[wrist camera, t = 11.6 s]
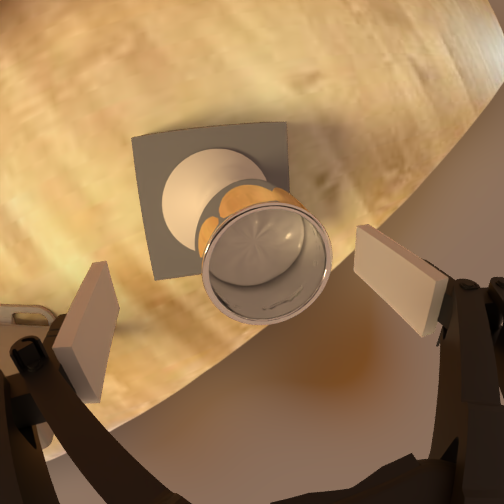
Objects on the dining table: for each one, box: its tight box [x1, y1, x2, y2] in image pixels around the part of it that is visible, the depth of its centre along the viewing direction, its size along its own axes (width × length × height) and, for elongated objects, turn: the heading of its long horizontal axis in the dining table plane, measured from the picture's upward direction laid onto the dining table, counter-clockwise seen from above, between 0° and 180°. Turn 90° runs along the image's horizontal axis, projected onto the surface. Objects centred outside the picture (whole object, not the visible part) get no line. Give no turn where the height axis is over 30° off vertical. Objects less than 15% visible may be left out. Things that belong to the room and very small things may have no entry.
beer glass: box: [194, 166, 332, 325], centre depth 22 cm, size 7×7×15 cm
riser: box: [131, 122, 290, 281], centre depth 33 cm, size 14×14×8 cm
